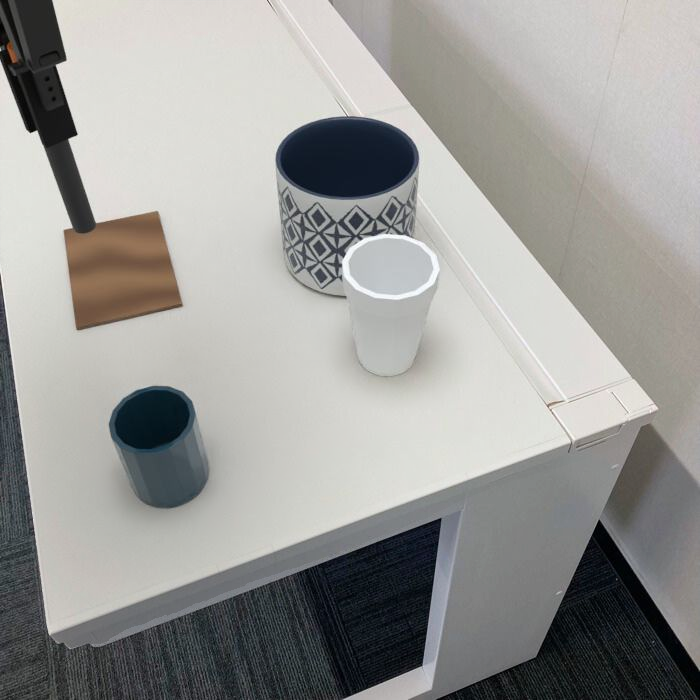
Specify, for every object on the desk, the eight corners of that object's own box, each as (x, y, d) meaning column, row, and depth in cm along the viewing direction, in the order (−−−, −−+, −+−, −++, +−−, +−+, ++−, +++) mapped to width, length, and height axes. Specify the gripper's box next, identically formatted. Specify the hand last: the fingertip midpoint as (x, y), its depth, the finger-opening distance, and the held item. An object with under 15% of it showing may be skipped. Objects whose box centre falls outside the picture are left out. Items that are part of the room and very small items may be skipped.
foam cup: (411, 315, 88) (418, 226, 78) (443, 374, 82) (455, 285, 73) (332, 335, 86) (329, 246, 76) (359, 396, 80) (359, 308, 71)
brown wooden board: (182, 306, 89) (182, 303, 89) (77, 330, 87) (75, 327, 87) (158, 213, 101) (157, 210, 100) (64, 232, 98) (63, 229, 98)
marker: (79, 237, 68) (14, 53, 55) (68, 226, 69) (1, 43, 56) (101, 227, 68) (41, 43, 56) (89, 215, 69) (28, 33, 57)
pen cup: (159, 523, 71) (138, 469, 64) (117, 472, 74) (93, 416, 68) (224, 476, 74) (211, 420, 67) (181, 430, 78) (164, 372, 71)
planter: (413, 215, 100) (420, 117, 89) (412, 302, 90) (419, 202, 79) (291, 211, 101) (283, 113, 90) (276, 296, 90) (265, 197, 80)
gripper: (50, -218, 41) (143, 154, 59) (-62, -264, 49) (50, 79, 67) (-89, -189, 38) (53, 195, 56) (-186, -243, 46) (-34, 111, 63)
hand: (51, 131), depth 61 cm, fingers closed on marker, 2 cm apart
